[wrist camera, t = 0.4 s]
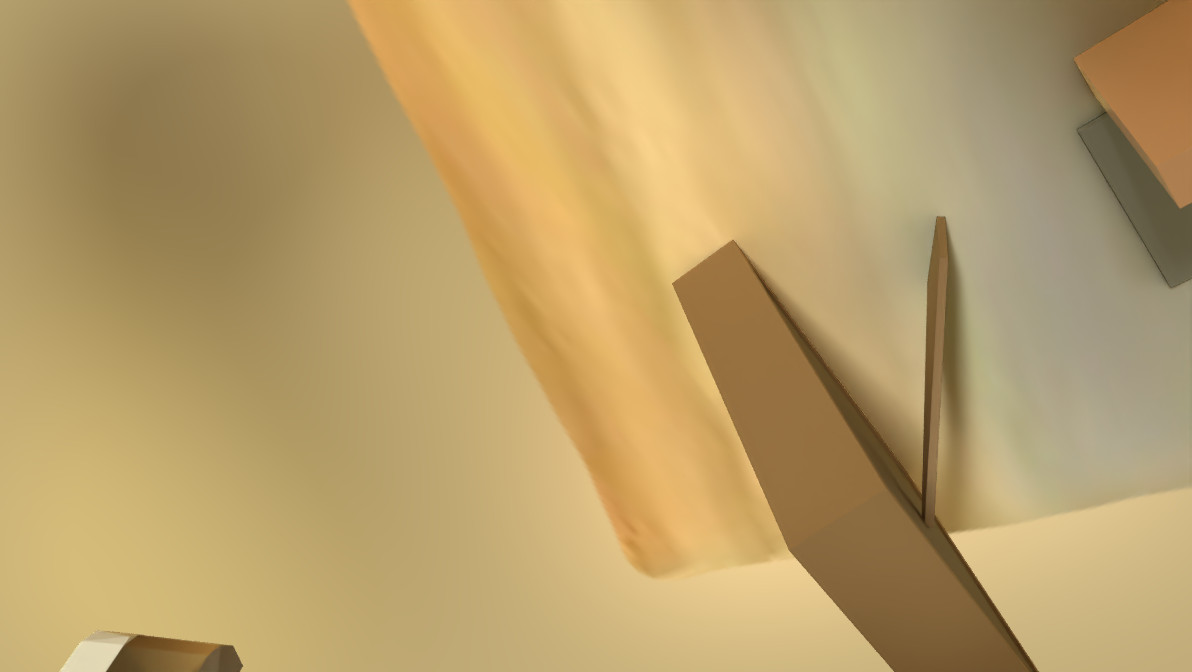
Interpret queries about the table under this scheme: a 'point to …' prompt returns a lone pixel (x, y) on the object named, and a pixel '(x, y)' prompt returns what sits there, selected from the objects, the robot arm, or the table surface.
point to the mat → (1143, 199)
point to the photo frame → (847, 474)
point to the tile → (1150, 90)
